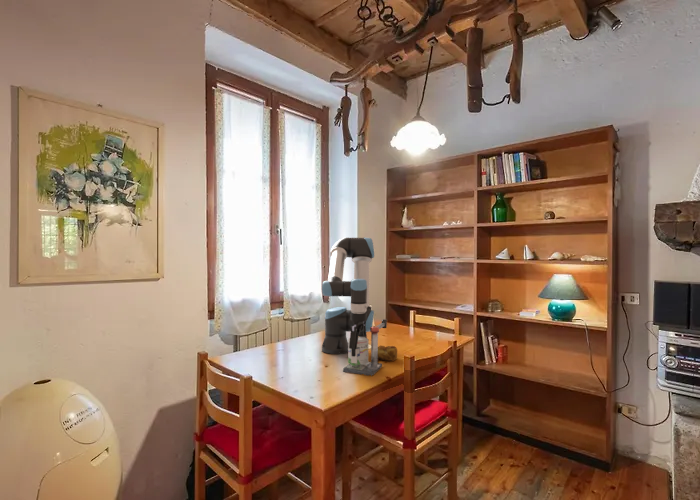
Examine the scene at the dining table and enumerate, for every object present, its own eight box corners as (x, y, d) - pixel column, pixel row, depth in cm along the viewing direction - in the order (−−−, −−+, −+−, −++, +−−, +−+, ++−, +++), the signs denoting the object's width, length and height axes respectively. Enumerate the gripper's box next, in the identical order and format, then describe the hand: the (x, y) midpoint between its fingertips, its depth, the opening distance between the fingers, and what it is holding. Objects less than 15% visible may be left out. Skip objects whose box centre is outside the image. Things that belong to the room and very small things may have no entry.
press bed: (343, 371, 170) (343, 332, 170) (354, 362, 183) (355, 326, 183) (373, 376, 164) (374, 336, 164) (383, 366, 177) (383, 329, 177)
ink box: (363, 360, 179) (363, 336, 179) (368, 363, 174) (369, 338, 174) (347, 363, 175) (347, 337, 175) (352, 366, 171) (352, 340, 170)
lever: (369, 334, 170) (369, 325, 170) (381, 326, 187) (381, 318, 187) (377, 335, 169) (377, 326, 169) (388, 327, 185) (388, 319, 185)
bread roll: (370, 360, 187) (370, 344, 187) (375, 355, 196) (375, 340, 196) (395, 363, 183) (396, 347, 183) (399, 357, 192) (399, 342, 192)
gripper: (357, 316, 163) (356, 367, 163) (373, 309, 183) (373, 354, 184) (341, 315, 166) (341, 365, 166) (359, 307, 186) (359, 352, 186)
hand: (358, 359), depth 175 cm, fingers closed on ink box, 9 cm apart
